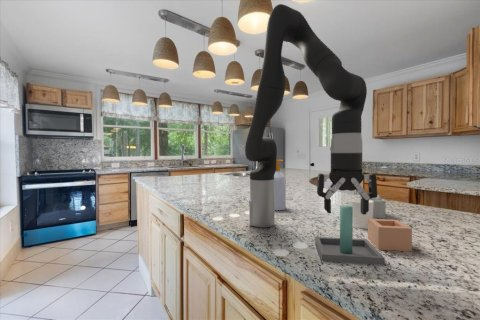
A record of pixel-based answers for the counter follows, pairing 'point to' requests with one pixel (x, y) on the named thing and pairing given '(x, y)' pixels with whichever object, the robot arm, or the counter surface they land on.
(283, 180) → the soap bottle
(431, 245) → the counter surface
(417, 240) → the counter surface
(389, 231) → the pot
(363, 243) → the tray
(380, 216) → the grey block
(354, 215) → the white cup
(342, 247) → the dowel
